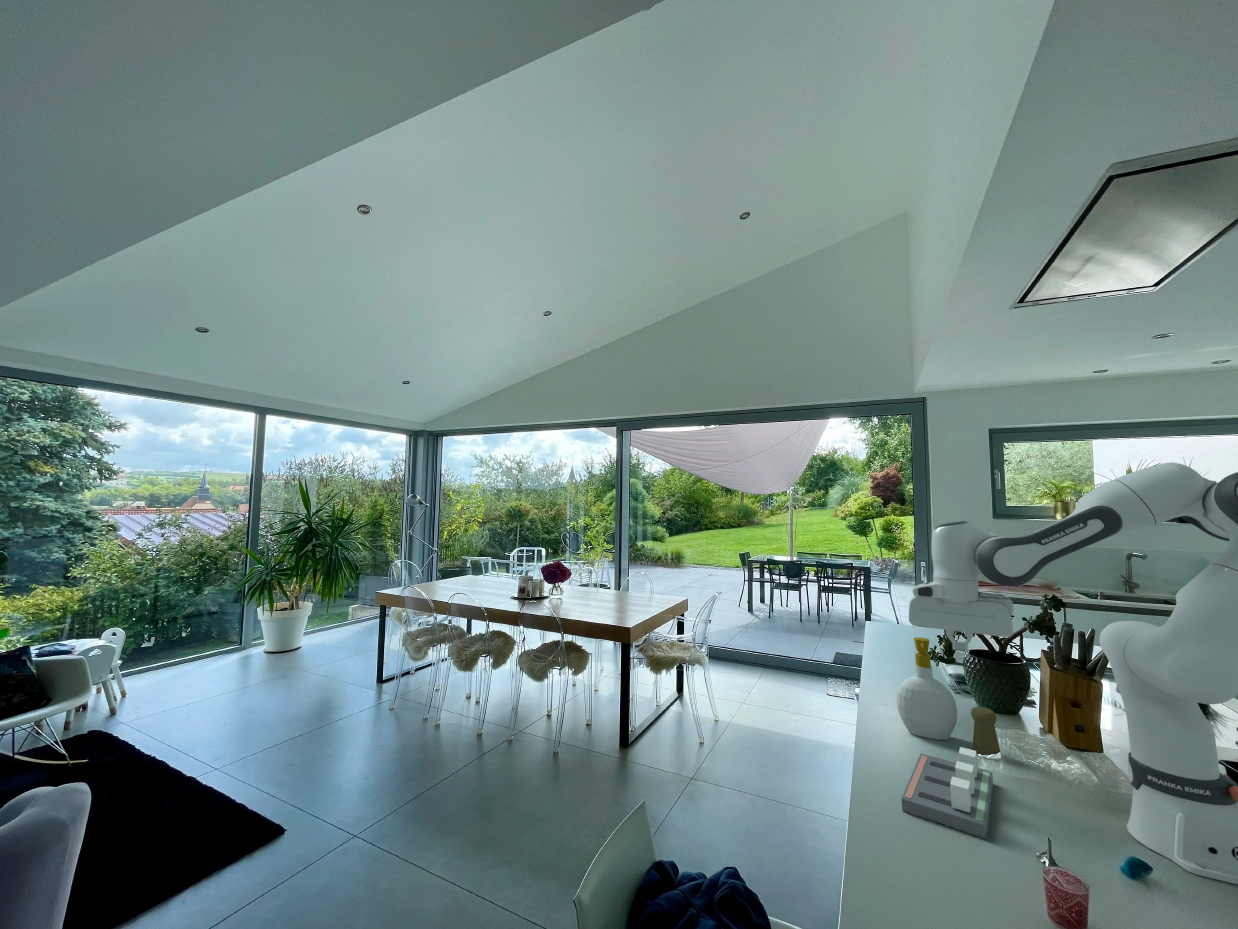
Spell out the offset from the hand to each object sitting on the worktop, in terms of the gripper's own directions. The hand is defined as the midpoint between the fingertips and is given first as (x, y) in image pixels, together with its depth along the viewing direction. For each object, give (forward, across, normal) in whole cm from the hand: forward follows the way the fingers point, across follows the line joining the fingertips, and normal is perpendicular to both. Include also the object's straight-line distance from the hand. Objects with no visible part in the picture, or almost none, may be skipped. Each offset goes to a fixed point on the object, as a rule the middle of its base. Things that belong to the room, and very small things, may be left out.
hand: (960, 650), depth 115 cm
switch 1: (+26, 0, +2) cm, 26 cm away
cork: (+29, -2, -18) cm, 34 cm away
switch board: (+29, +3, +10) cm, 31 cm away
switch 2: (+26, 0, +18) cm, 32 cm away
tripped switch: (+26, 0, +10) cm, 28 cm away
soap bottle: (+29, +11, -20) cm, 37 cm away
